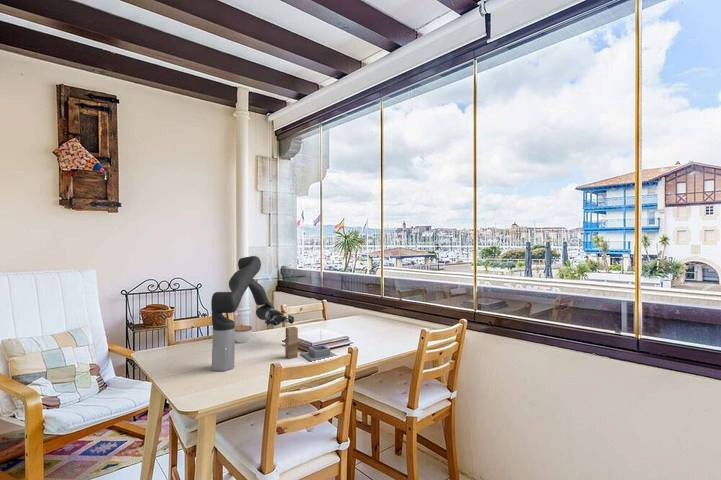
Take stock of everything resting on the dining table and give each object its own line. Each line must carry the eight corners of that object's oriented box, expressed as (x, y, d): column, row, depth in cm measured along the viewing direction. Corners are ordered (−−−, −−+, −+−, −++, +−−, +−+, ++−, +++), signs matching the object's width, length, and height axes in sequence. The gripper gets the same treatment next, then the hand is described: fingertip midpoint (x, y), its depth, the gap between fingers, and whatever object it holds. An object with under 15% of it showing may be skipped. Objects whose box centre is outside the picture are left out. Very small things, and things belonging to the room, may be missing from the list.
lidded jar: (255, 339, 218) (255, 323, 218) (245, 344, 208) (245, 327, 208) (238, 338, 221) (239, 321, 221) (227, 343, 211) (227, 326, 211)
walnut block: (297, 357, 187) (297, 328, 187) (288, 359, 184) (288, 329, 184) (294, 355, 191) (294, 326, 190) (285, 356, 188) (285, 327, 188)
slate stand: (338, 358, 186) (338, 349, 186) (311, 362, 179) (311, 353, 179) (326, 350, 198) (326, 342, 198) (300, 354, 191) (300, 346, 191)
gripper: (261, 311, 208) (270, 316, 194) (286, 308, 215) (297, 314, 201) (261, 325, 208) (270, 331, 194) (286, 322, 215) (297, 328, 201)
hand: (284, 322), depth 197 cm, fingers open, 8 cm apart
